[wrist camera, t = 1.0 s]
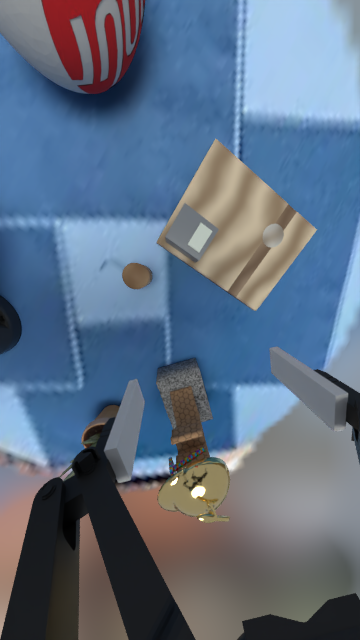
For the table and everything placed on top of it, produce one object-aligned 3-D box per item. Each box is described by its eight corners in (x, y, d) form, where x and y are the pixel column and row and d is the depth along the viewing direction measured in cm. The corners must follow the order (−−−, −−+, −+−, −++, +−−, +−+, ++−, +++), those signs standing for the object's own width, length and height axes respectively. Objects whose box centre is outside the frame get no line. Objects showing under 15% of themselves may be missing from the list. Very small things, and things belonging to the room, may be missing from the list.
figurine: (153, 369, 42) (133, 497, 18) (195, 357, 42) (232, 470, 18) (169, 413, 46) (170, 567, 21) (207, 402, 45) (251, 545, 21)
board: (157, 243, 34) (156, 242, 33) (213, 144, 31) (215, 138, 29) (252, 309, 39) (255, 310, 38) (310, 231, 36) (317, 229, 34)
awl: (131, 278, 36) (117, 280, 26) (140, 262, 35) (130, 257, 26) (147, 288, 37) (140, 294, 27) (157, 273, 36) (153, 272, 26)
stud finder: (165, 242, 33) (165, 236, 28) (182, 213, 32) (185, 201, 27) (194, 262, 34) (199, 260, 29) (211, 235, 33) (219, 228, 28)
